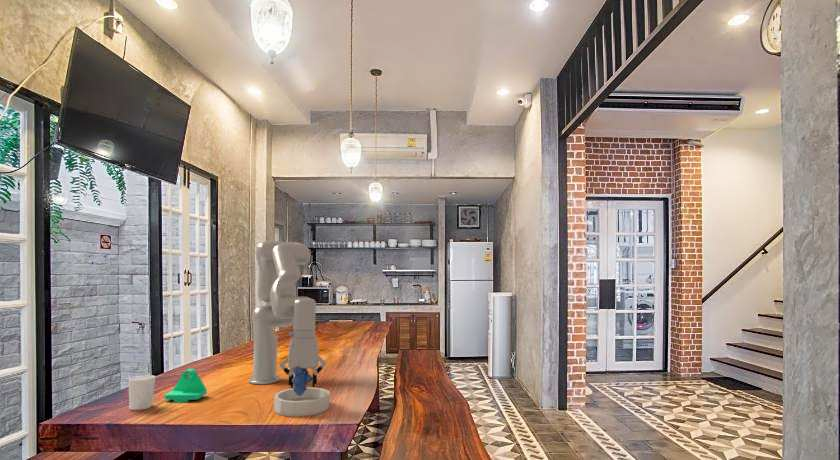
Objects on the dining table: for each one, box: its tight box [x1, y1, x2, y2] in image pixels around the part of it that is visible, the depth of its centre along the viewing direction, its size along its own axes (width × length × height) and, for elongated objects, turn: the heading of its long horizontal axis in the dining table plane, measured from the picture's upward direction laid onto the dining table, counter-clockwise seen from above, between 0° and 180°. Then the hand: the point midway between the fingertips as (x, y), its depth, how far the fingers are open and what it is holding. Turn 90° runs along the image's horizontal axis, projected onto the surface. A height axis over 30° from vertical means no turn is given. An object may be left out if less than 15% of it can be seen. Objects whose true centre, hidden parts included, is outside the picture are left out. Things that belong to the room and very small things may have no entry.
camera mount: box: [164, 368, 208, 403], centre depth 175 cm, size 12×8×10 cm, turn 91°
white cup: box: [128, 374, 156, 411], centre depth 164 cm, size 8×8×10 cm
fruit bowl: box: [273, 386, 331, 418], centre depth 164 cm, size 18×18×5 cm
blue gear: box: [292, 367, 313, 396], centre depth 165 cm, size 12×7×12 cm, turn 176°
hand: (302, 386), depth 165 cm, fingers closed on blue gear, 6 cm apart
